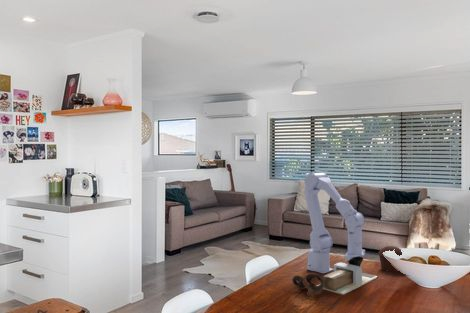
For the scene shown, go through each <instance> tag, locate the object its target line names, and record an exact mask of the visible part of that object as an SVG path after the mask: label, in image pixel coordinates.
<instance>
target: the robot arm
mask: <svg viewBox="0 0 470 313" xmlns="http://www.w3.org/2000/svg"><path fill="white" fill-rule="evenodd" d="M303 181H304V185H305V187H304V197H305V201H306V206H307V209H308V210H307V211H308V216H309V219H310V223H311V229H312V231H311V232H310V234H309V239H310V240H309V246H310V248H311V249H309V250H308V253H307V267H306V270H308V271H312V272H316V273H321V274H326V273H327V274H328V273H329V272H333V271H334V268H332V267H330V266H331V265H330V260H331V259H330V251H331V248H332V246H333V244H334V242H333V237H332V236H331V235H330V232H329V230H327V229H326V227H325V223H324V218H323V214H322V211H321V206H320V202H319V196H318V195H319V194H318V193H320V191H321V190H322V191H325V193H326V194H327V195H328V196H329V198H331V199H332V201H333V202H334V203H335V208H336V210H337V211H338V212H339V214H341V216H342V217H343V219H344V224H345V226H346V229H347V230H346V231H347V252H346V253H345V254H344V255H343V260H344V261H347V264H350V265H355V266H360V267H361V266H362V262H364V256H365V255H366V249H363V225H364V224H365V217H364V215H363V213H361V212H358V211H357V209H354V207H353V205H352V204H351V202H350V200H347V199H346V198H343V197H342V196H341V195H340V192H338V189H336V187H335V186H334V184H332V180H331V178H330V177H329V176H328V174H327V173H326V172H319V173H318V172H317V173H316V172H315V173H313V172H311V173H307V175H306V176H305V178H304V180H303Z"/></svg>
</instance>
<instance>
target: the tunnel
mask: <svg viewBox="0 0 470 313" xmlns="http://www.w3.org/2000/svg"><path fill="white" fill-rule="evenodd" d="M333 269H334V270H333V272H335V271H337V270H339V269H347V270H351V271H353V282H351V283H349V284H347V285H345V286H343V287H340V288H338V289H336V290H331V289H327V288H323V290H325V291H329V292H332V293H336V294H339V295H342V296H344V295H346V294H347V293H350V292H352V291H353V290H356V289H358V288H360V287H362V286H363V285H366V284H368V283H370V282H372V281H373V280H375V279H377V277H378V276H377V275H374V274H370V273H365V272H363V267H362V266H361V265H360V266H355V265H350V264H349V263H345V262H337V263H335V264H333ZM378 278H379V277H378ZM319 285H320V284H318V285H316V286H319Z"/></svg>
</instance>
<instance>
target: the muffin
mask: <svg viewBox="0 0 470 313" xmlns="http://www.w3.org/2000/svg"><path fill="white" fill-rule="evenodd" d="M394 249H395V250H394ZM389 250H390V251H393V250H394V251H395V253H396V254H397V255H399V256H400V255H402V252H401V250H402V249H401V248H400V247H398V246H394V245H393V246H390V245H389V246H384V247H382V248H381V249H380V250H379V251H378V256H379V260H380V268H381V269H382V270H383V269H384V271H386V270H388V271H387V272H391V271H397V270H396V269H395V268H394V267H393V266H392V265H391V263H390V262H389V261H388V260H387V259H386V258H385V257H384V256H383V254H382V253H383V252H385V251H389Z"/></svg>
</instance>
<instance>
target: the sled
mask: <svg viewBox="0 0 470 313" xmlns="http://www.w3.org/2000/svg"><path fill="white" fill-rule="evenodd" d="M322 279H323V284H324V287H323V288H327V289H331V290H336V289H338V288H340V287H343V286H345V285H347V284H349V283H351V282H353V271H351V270H347V269H339V270H337V271H335V272H334V271H331V272H330V273H327V274H325V275H323V276H322Z"/></svg>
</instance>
